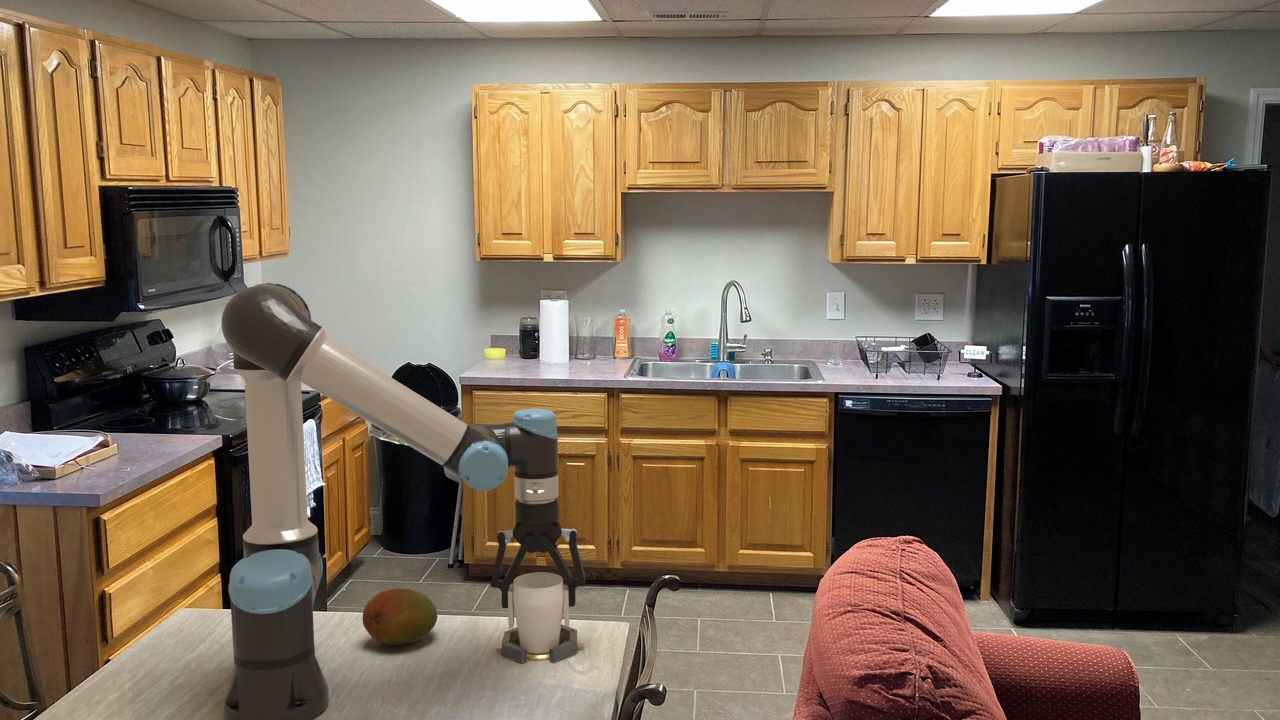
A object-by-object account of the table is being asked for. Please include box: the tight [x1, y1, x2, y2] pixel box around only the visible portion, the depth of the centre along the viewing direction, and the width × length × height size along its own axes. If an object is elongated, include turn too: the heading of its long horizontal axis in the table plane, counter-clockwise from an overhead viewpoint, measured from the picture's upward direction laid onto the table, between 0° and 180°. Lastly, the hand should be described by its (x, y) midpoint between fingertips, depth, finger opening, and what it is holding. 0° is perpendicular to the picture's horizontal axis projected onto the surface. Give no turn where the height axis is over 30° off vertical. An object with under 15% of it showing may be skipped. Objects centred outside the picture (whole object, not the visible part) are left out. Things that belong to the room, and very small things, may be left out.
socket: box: [495, 623, 585, 665], centre depth 177 cm, size 15×13×2 cm
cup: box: [512, 571, 565, 653], centre depth 177 cm, size 9×9×12 cm
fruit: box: [362, 588, 438, 646], centre depth 181 cm, size 12×13×10 cm
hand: (539, 624), depth 177 cm, fingers closed on cup, 9 cm apart
